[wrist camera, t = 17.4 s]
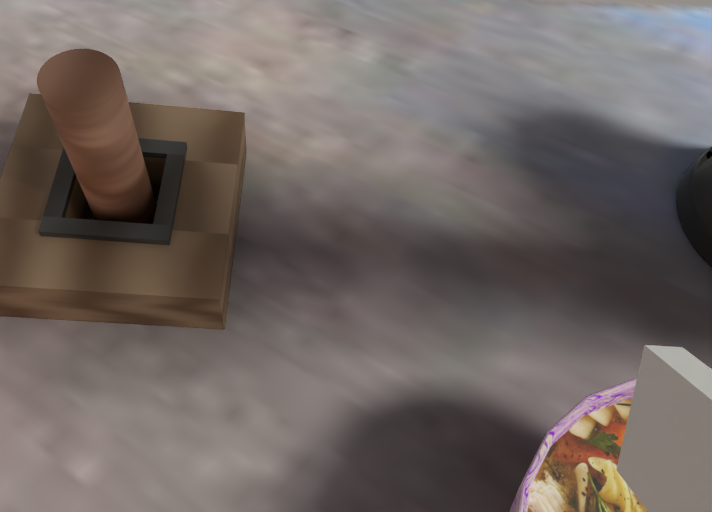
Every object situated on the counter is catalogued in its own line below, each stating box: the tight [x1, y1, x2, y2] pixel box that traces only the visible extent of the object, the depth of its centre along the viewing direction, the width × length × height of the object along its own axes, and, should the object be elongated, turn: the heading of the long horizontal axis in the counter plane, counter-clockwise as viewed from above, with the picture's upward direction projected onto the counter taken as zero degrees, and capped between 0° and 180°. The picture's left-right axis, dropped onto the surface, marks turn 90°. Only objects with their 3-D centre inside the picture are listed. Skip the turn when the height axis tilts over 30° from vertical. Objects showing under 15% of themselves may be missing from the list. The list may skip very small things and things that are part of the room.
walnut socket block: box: [0, 94, 246, 329], centre depth 48 cm, size 16×16×6 cm
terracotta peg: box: [37, 49, 157, 224], centre depth 44 cm, size 4×4×16 cm
